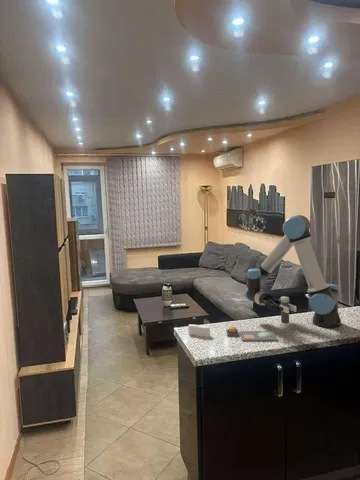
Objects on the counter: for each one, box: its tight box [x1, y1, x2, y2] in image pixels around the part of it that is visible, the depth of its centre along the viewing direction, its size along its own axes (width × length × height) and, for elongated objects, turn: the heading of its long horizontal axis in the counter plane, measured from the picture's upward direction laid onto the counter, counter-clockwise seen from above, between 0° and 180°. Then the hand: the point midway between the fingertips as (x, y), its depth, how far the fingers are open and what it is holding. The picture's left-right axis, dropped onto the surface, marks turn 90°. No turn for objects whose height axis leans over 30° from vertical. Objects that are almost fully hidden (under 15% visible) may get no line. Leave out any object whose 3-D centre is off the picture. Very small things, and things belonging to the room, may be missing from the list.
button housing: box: [226, 328, 240, 337], centre depth 190 cm, size 6×6×2 cm
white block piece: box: [187, 324, 211, 338], centre depth 191 cm, size 15×11×6 cm
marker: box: [280, 295, 290, 324], centre depth 183 cm, size 4×4×13 cm
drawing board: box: [239, 330, 279, 342], centre depth 185 cm, size 18×12×1 cm, turn 87°
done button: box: [228, 326, 237, 333], centre depth 190 cm, size 4×4×2 cm
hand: (291, 309), depth 178 cm, fingers closed on marker, 4 cm apart
